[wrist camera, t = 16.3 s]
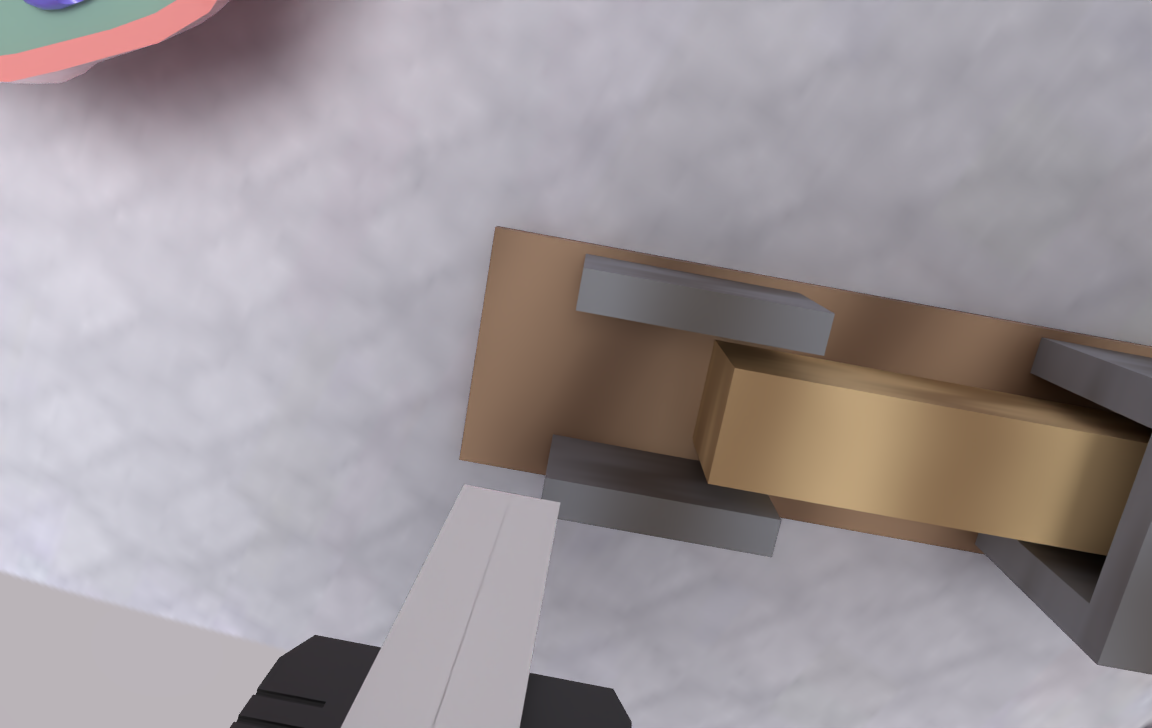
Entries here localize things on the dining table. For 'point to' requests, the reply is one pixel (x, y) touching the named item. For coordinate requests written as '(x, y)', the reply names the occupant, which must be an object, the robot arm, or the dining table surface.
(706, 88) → the dining table surface
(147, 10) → the cell model
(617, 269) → the cap board
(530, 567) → the robot arm
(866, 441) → the brass rectangular bar
